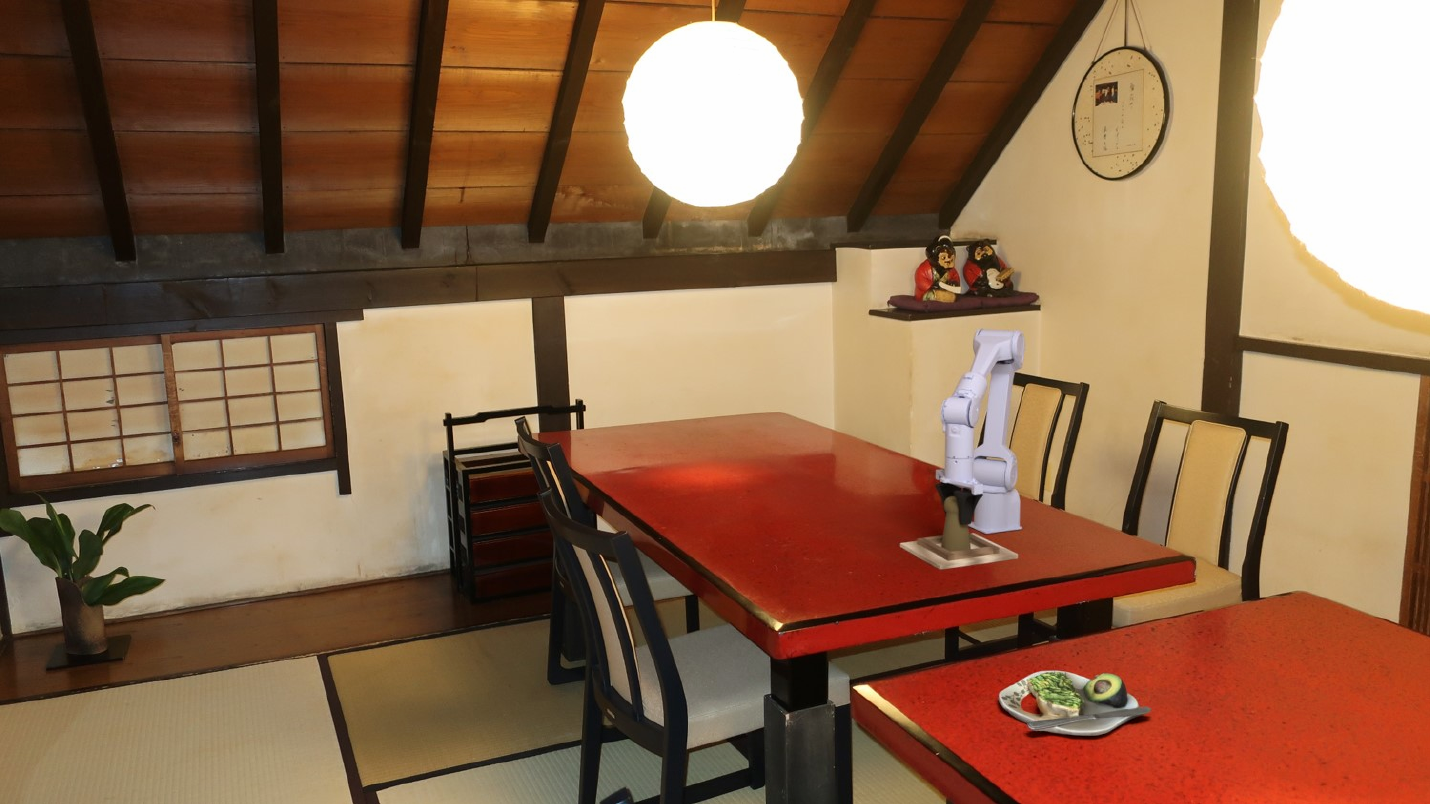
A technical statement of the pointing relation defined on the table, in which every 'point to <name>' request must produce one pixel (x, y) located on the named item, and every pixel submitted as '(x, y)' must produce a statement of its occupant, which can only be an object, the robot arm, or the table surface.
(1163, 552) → the table surface
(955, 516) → the olive tapered peg
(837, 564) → the table surface
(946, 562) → the socket board
